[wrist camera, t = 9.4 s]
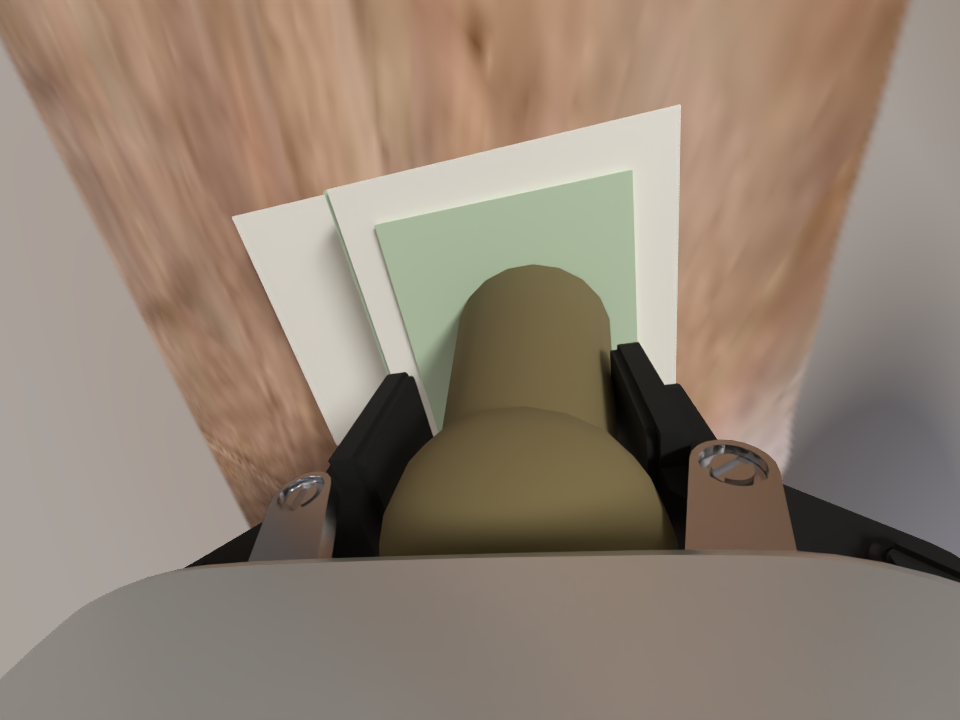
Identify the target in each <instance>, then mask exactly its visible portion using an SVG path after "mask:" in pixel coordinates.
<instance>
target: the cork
mask: <svg viewBox="0 0 960 720" xmlns="http://www.w3.org/2000/svg"><path fill="white" fill-rule="evenodd" d="M610 350H612V347H611V332H610V318H609V316H608V314H607V312H606V310H605V307H604V305H603V303H602V301H601V299H600V297H599V296H598V295H597V294H596V293H595V292H594V291H593V290H592V289H591V288H590V287H589V286H588V284H587V283H586V282H585V281H584V280H583V279H581V278H579V277H577V276H575V275H573V274H571V273H569V272H567V271H565V270H563V269H561V268H556V267H549V266H542V265H535V264H532V265H526V266H520V267H515V268H509V269H506V270H504V271H502V272H500V273H499V274H497V275H495V276H493V277H491V278H489V279H487V280H485V281H484V283H483V284H482V285H481V286H480V287H479V288H478V289H477V290H476V291H475V292H474V293H473V294H472V295H471V296H470V297H469V299H468V301H467V303H466V306H465V308H464V310H463V312H462V314H461V317H460V320H459V327H458V333H457V339H456V345H455V352H454V358H453V364H452V370H451V377H450V383H449V389H448V396H447V402H446V408H445V414H444V421H443V427H442V430H441V431H440V432H439V433H438V434H436V435H435V436H434V437H433V438H432V439H431V440H430V441H428V442H427V443H426V444H425V445H424V446H423V447H422V448H421V449H420V450H419V451H418V452H417V453H416V455H415V456H414V457H413V458H412V459H411V460H410V461H409V462H408V464H407V466H406V468H405V470H404V472H403V474H402V477H401V479H400V481H399V483H398V485H397V487H396V489H395V491H394V493H393V495H392V498H391V500H390V502H389V504H388V506H387V508H386V510H385V512H384V515H383V521H382V528H381V534H380V541H379V557H385V556H419V555H454V554H491V553H530V552H576V551H623V550H678V541H677V537H676V534H675V532H674V529H673V526H672V524H671V521H670V519H669V516H668V513H667V511H666V509H665V507H664V505H663V503H662V500H661V498H660V496H659V494H658V492H657V490H656V488H655V486H654V484H653V482H652V480H651V478H650V477H649V475H648V474H647V473H646V471H645V470H644V469H643V468H642V466H641V465H640V464H639V462H638V461H637V460H636V459H635V457H634V456H633V455H632V454H631V453H630V452H628V451H627V450H626V449H625V448H624V447H623V446H622V445H621V444H620V443H619V442H618V432H617V418H616V404H615V390H614V385H613V381H612V377H611V363H610Z"/></svg>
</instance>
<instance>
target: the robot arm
mask: <svg viewBox="0 0 960 720" xmlns="http://www.w3.org/2000/svg"><path fill="white" fill-rule="evenodd" d="M610 363H611V377H612V381H613V385H614V390H615V404H616V418H617V432H618V442H619V443H620V444H621V445H622V446H623V447H624V448H625V449H626V450H627V451H628V452H630V453H631V454H632V455H633V456H634V457H635V459H636V460H637V461H638V462H639V464H640V465H641V466H642V468H643V469H644V470H645V471H646V473H647V474H648V475H649V477H650V478H651V480H652V482H653V484H654V486H655V488H656V490H657V492H658V494H659V496H660V498H661V500H662V503H663V505H664V507H665V509H666V511H667V513H668V516H669V519H670V521H671V524H672V526H673V529H674V532H675V534H676V537H677V541H678V550H623V551H576V552H530V553H491V554H454V555H419V556H385V557H379V541H380V534H381V528H382V521H383V515H384V512H385V510H386V508H387V506H388V504H389V502H390V500H391V498H392V495H393V493H394V491H395V489H396V487H397V485H398V483H399V481H400V479H401V477H402V474H403V472H404V470H405V468H406V466H407V464H408V462H409V461H410V460H411V459H412V458H413V457H414V456H415V455H416V453H417V452H418V451H419V450H420V449H421V448H422V447H423V446H424V445H425V444H426V443H427V442H428V441H430V440H431V439H432V438H433V434H432V431H431V428H430V425H429V421H428V418H427V415H426V412H425V409H424V406H423V403H422V400H421V396H420V393H419V390H418V387H417V384H416V381H415V378H414V377H413V376H409V375H408V374H407V373H406V372H402V373H394V374H388V375H387V376H386V377H385V379H384V380H383V381H382V383H381V384H380V386H379V387H378V389H377V390H376V392H375V393H374V395H373V396H372V398H371V399H370V400H369V402H368V403H367V405H366V406H365V408H364V409H363V411H362V412H361V414H360V415H359V417H358V418H357V420H356V421H355V422H354V424H353V425H352V427H351V428H350V430H349V431H348V433H347V434H346V436H345V437H344V439H343V440H342V441H341V443H340V444H339V446H338V447H337V449H336V450H335V452H334V453H333V455H332V456H331V458H330V459H329V460H328V461H329V463H330V467H329V468H328V470H327V471H326V473H325V472H323V471H314V472H309V473H305V474H303V475H300V476H298V477H296V478H294V479H293V480H291V481H289V482H288V483H286V484H285V485H284V486H283V487H281V488H280V489H279V490H278V492H277V493H276V494H275V495H274V497H273V498H272V500H271V502H270V504H269V507H268V510H267V512H266V515H265V518H264V520H263V522H262V523H260V524H258V525H257V526H255V527H253V528H252V529H250V530H248V531H247V532H245V533H243V534H241V535H240V536H238V537H236V538H235V539H233V540H231V541H230V542H228V543H226V544H225V545H223V546H221V547H219V548H218V549H216V550H214V551H213V552H211V553H210V554H208V555H206V556H204V557H203V558H201V559H199V560H197V561H196V562H194V563H193V564H190V565H188V566H187V567H185V568H183V569H177V570H174V571H170V572H166V573H162V574H158V575H155V576H151V577H147V578H145V579H142V580H139V581H136V582H134V583H131V584H129V585H126V586H123V587H120V588H118V589H116V590H114V591H112V592H110V593H107V594H105V595H103V596H102V597H100V598H98V599H96V600H94V601H92V602H90V603H88V604H87V605H85V606H84V607H82V608H80V609H79V610H78V611H76V612H75V613H74V614H72V615H71V616H70V617H69V618H68V619H66V620H65V621H64V622H63V623H62V624H60V625H59V626H58V627H57V628H56V629H55V630H53V631H52V632H51V633H50V634H49V635H48V636H47V637H46V638H44V639H43V640H42V641H41V642H40V643H39V644H38V645H37V646H35V647H34V648H33V649H32V650H31V651H30V652H29V653H28V654H27V655H25V656H24V657H23V658H22V659H21V660H20V661H19V662H18V663H17V664H16V665H15V666H14V667H13V668H12V669H10V670H9V671H8V672H7V673H6V674H5V675H4V676H3V677H2V678H1V679H0V720H960V558H958V557H957V556H956V555H954V554H952V553H951V552H948V551H946V550H944V549H942V548H940V547H938V546H936V545H934V544H932V543H929V542H927V541H924V540H922V539H919V538H917V537H914V536H912V535H909V534H907V533H904V532H902V531H899V530H897V529H894V528H892V527H889V526H887V525H884V524H882V523H879V522H877V521H874V520H872V519H869V518H867V517H864V516H862V515H859V514H856V513H854V512H852V511H849V510H846V509H844V508H841V507H839V506H836V505H834V504H831V503H829V502H826V501H824V500H821V499H819V498H816V497H814V496H811V495H809V494H806V493H804V492H801V491H799V490H796V489H793V488H791V487H789V486H786V485H783V483H782V479H781V474H780V470H779V468H778V466H777V464H776V462H775V461H774V460H773V459H772V458H771V457H770V456H769V455H768V454H766V453H765V452H763V451H761V450H760V449H758V448H756V447H754V446H751V445H748V444H746V443H743V442H738V441H733V440H717V438H716V437H715V436H714V434H713V433H712V431H711V430H710V428H709V427H708V425H707V424H706V422H705V421H704V419H703V418H702V416H701V415H700V413H699V412H698V410H697V409H696V407H695V406H694V404H693V403H692V401H691V400H690V398H689V397H688V395H687V394H686V392H685V391H684V389H683V388H682V386H681V385H680V384H677V383H676V384H667V385H664V383H663V381H662V380H661V378H660V376H659V375H658V373H657V371H656V370H655V368H654V366H653V365H652V363H651V361H650V360H649V358H648V356H647V355H646V353H645V351H644V350H643V348H642V346H641V345H640V343H639V342H633V343H625V344H618V345H617V350H610Z"/></svg>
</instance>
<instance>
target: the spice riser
mask: <svg viewBox="0 0 960 720" xmlns="http://www.w3.org/2000/svg"><path fill="white" fill-rule="evenodd" d="M680 124H681V104H679V105H675V106H671V107H667V108H663V109H659V110H655V111H650V112H646V113H642V114H638V115H634V116H630V117H626V118H621V119H617V120H613V121H609V122H605V123H601V124H597V125H592V126H588V127H584V128H580V129H576V130H572V131H568V132H563V133H559V134H555V135H551V136H547V137H543V138H539V139H534V140H530V141H526V142H522V143H518V144H514V145H510V146H506V147H501V148H497V149H493V150H489V151H485V152H481V153H477V154H472V155H468V156H464V157H460V158H456V159H452V160H448V161H443V162H439V163H435V164H431V165H427V166H423V167H419V168H414V169H410V170H406V171H402V172H398V173H394V174H390V175H385V176H381V177H377V178H373V179H369V180H365V181H361V182H356V183H352V184H348V185H344V186H340V187H336V188H332V189H328V190H325V191H323V192H324V195H321V196H317V197H312V198H308V199H304V200H300V201H296V202H292V203H287V204H283V205H279V206H275V207H271V208H266V209H262V210H258V211H254V212H250V213H246V214H241V215H237V216H233V217H232V219H233V221H234V223H235V225H236V228H237V230H238V232H239V234H240V236H241V238H242V241H243V243H244V245H245V247H246V249H247V252H248V254H249V256H250V258H251V260H252V262H253V265H254V267H255V269H256V271H257V273H258V275H259V278H260V280H261V282H262V284H263V286H264V289H265V291H266V293H267V295H268V297H269V299H270V302H271V304H272V306H273V308H274V310H275V312H276V315H277V317H278V319H279V321H280V323H281V326H282V328H283V330H284V332H285V334H286V336H287V339H288V341H289V343H290V345H291V347H292V349H293V352H294V354H295V356H296V358H297V360H298V363H299V365H300V367H301V369H302V371H303V373H304V376H305V378H306V380H307V382H308V384H309V386H310V389H311V391H312V393H313V395H314V397H315V400H316V402H317V404H318V406H319V408H320V410H321V413H322V415H323V417H324V419H325V421H326V423H327V426H328V428H329V430H330V432H331V434H332V436H333V439H334V441H335V443H336V445H339V444H340V443H341V441H342V440H343V439H344V437H345V436H346V434H347V433H348V431H349V430H350V428H351V427H352V425H353V424H354V422H355V421H356V420H357V418H358V417H359V415H360V414H361V412H362V411H363V409H364V408H365V406H366V405H367V403H368V402H369V400H370V399H371V398H372V396H373V395H374V393H375V392H376V390H377V389H378V387H379V386H380V384H381V383H382V381H383V380H384V379H385V377H386V376H387V375H388V374H394V373H402V372H406V373H407V374H408V375H409V376H413V377H414V378H415V381H416V384H417V387H418V390H419V393H420V396H421V400H422V403H423V406H424V409H425V412H426V415H427V418H428V421H429V425H430V428H431V431H432V434H433V437H434V436H435V435H436V434H438V433H439V432H440V431H441V430H442V427H443V421H444V414H445V408H446V402H447V396H448V389H449V383H450V377H451V370H452V364H453V358H454V352H455V345H456V339H457V333H458V327H459V320H460V317H461V314H462V312H463V310H464V308H465V306H466V303H467V301H468V299H469V297H470V296H471V295H472V294H473V293H474V292H475V291H476V290H477V289H478V288H479V287H480V286H481V285H482V284H483V283H484V281H485V280H487V279H489V278H491V277H493V276H495V275H497V274H499V273H500V272H502V271H504V270H506V269H509V268H515V267H520V266H526V265H532V264H535V265H542V266H549V267H556V268H561V269H563V270H565V271H567V272H569V273H571V274H573V275H575V276H577V277H579V278H581V279H583V280H584V281H585V282H586V283H587V284H588V286H589V287H590V288H591V289H592V290H593V291H594V292H595V293H596V294H597V295H598V296H599V297H600V299H601V301H602V303H603V305H604V307H605V310H606V312H607V314H608V316H609V318H610V332H611V347H612V350H617V345H618V344H625V343H633V342H639V343H640V345H641V346H642V348H643V350H644V351H645V353H646V355H647V356H648V358H649V360H650V361H651V363H652V365H653V366H654V368H655V370H656V371H657V373H658V375H659V376H660V378H661V380H662V381H663V383H664V385H667V384H676V335H677V282H678V229H679V177H680Z"/></svg>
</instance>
